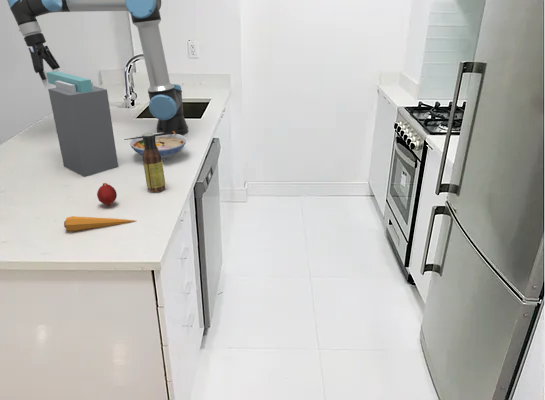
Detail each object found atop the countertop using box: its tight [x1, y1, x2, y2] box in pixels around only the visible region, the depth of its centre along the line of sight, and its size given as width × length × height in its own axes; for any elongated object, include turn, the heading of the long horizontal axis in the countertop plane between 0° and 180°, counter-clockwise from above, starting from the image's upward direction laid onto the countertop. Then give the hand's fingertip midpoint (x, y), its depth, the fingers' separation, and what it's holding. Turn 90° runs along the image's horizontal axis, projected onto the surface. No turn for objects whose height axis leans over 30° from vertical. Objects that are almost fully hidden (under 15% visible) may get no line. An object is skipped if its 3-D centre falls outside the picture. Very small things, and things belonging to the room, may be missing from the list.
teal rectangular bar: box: [46, 71, 92, 93], centre depth 161 cm, size 26×4×4 cm, turn 49°
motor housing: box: [47, 81, 119, 178], centre depth 164 cm, size 16×14×32 cm
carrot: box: [63, 215, 136, 233], centre depth 128 cm, size 20×4×4 cm, turn 109°
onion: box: [96, 182, 118, 207], centre depth 139 cm, size 6×6×8 cm
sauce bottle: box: [142, 132, 166, 193], centre depth 148 cm, size 7×6×20 cm
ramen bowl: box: [124, 130, 187, 161], centre depth 180 cm, size 25×23×8 cm
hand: (55, 85), depth 188 cm, fingers open, 13 cm apart
